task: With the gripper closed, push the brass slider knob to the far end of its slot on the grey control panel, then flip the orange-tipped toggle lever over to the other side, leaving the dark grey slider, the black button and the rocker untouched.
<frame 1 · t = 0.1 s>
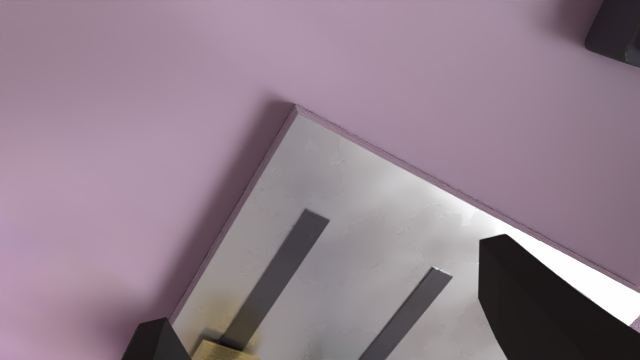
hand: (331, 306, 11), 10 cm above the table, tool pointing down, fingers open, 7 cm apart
panel: (388, 338, 26), on the table
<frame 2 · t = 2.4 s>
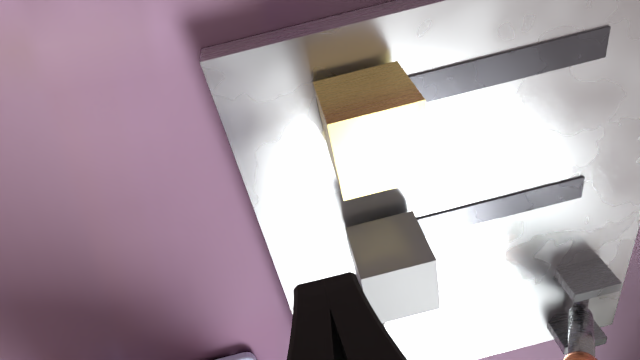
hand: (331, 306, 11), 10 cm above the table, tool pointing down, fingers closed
slider grey: (392, 267, 21), point 3 cm above the table, slide at 0.0 cm
toggle lever: (581, 341, 25), point 4 cm above the table, hinge at -30.0°
panel: (456, 215, 24), on the table
slider brass: (370, 129, 17), point 3 cm above the table, slide at 0.0 cm
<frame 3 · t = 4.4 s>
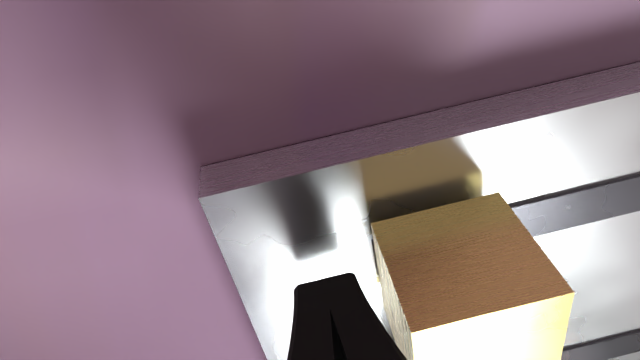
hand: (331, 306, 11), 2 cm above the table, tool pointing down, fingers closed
panel: (533, 347, 18), on the table
slider brass: (460, 300, 11), point 3 cm above the table, slide at 0.0 cm, touching gripper
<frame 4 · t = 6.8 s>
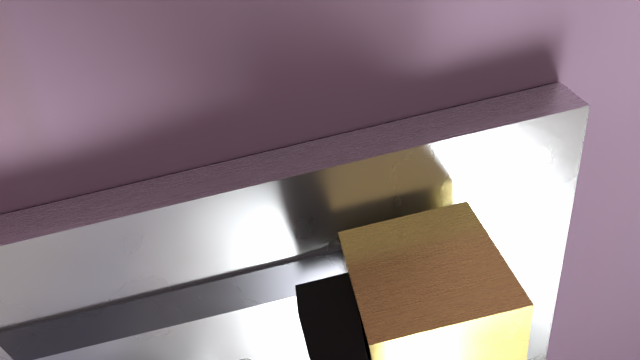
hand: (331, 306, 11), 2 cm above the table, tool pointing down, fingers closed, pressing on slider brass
slider brass: (427, 310, 11), point 3 cm above the table, slide at 8.6 cm, touching gripper
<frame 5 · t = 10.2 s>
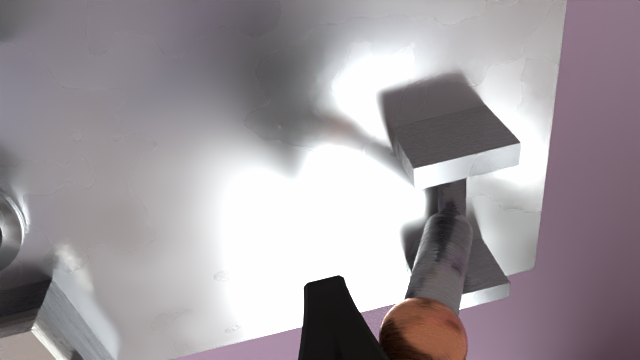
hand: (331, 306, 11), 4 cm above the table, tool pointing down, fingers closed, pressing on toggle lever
toggle lever: (437, 279, 11), point 4 cm above the table, hinge at -30.0°, touching gripper
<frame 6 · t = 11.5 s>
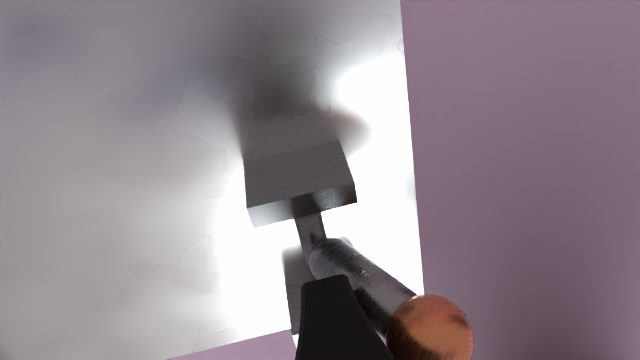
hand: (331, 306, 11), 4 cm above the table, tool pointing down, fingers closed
toggle lever: (373, 294, 11), point 4 cm above the table, hinge at 29.0°, touching gripper
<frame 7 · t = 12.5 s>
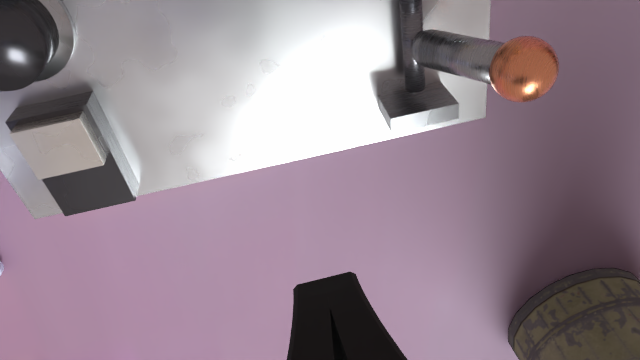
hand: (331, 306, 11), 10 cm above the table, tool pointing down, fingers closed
toggle lever: (471, 57, 15), point 4 cm above the table, hinge at 33.4°
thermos: (573, 315, 31), on the table
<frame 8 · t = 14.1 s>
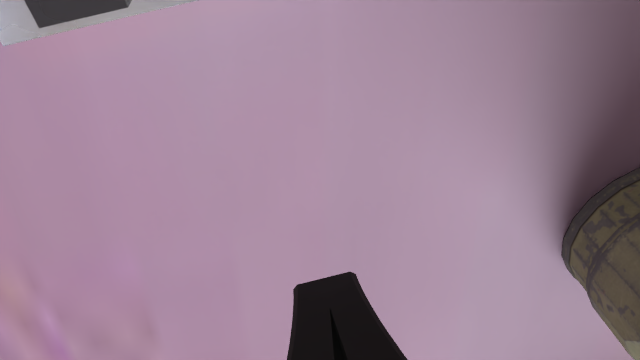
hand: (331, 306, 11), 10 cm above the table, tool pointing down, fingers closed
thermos: (636, 224, 27), on the table
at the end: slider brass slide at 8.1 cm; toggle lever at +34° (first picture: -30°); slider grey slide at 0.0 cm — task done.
